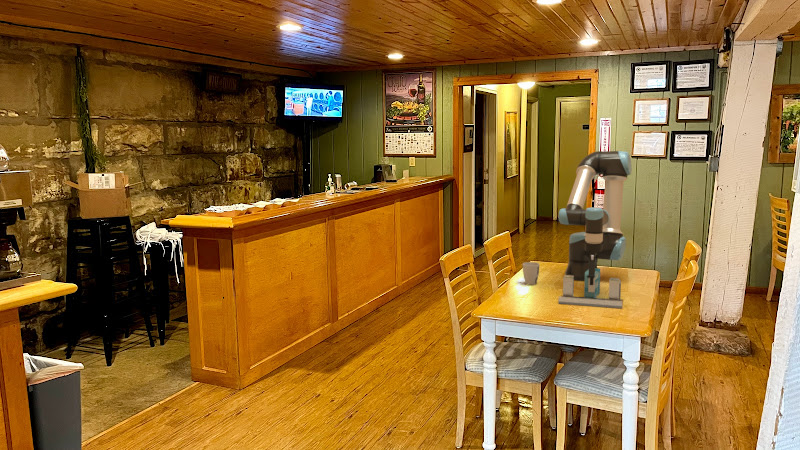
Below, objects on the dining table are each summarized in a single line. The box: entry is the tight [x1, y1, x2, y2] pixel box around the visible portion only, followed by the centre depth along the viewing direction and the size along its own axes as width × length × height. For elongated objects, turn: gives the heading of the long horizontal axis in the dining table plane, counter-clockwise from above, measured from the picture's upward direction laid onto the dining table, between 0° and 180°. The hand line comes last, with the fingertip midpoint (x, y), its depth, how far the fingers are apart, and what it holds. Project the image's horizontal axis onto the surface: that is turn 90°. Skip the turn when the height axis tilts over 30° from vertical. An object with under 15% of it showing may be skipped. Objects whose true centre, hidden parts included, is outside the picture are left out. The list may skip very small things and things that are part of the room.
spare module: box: [619, 280, 622, 300], centre depth 266 cm, size 5×4×8 cm
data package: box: [583, 267, 601, 298], centre depth 273 cm, size 12×4×12 cm, turn 151°
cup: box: [522, 261, 540, 286], centre depth 297 cm, size 8×8×10 cm
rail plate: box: [558, 274, 623, 309], centre depth 262 cm, size 10×26×11 cm, turn 69°
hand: (592, 288), depth 273 cm, fingers open, 13 cm apart
